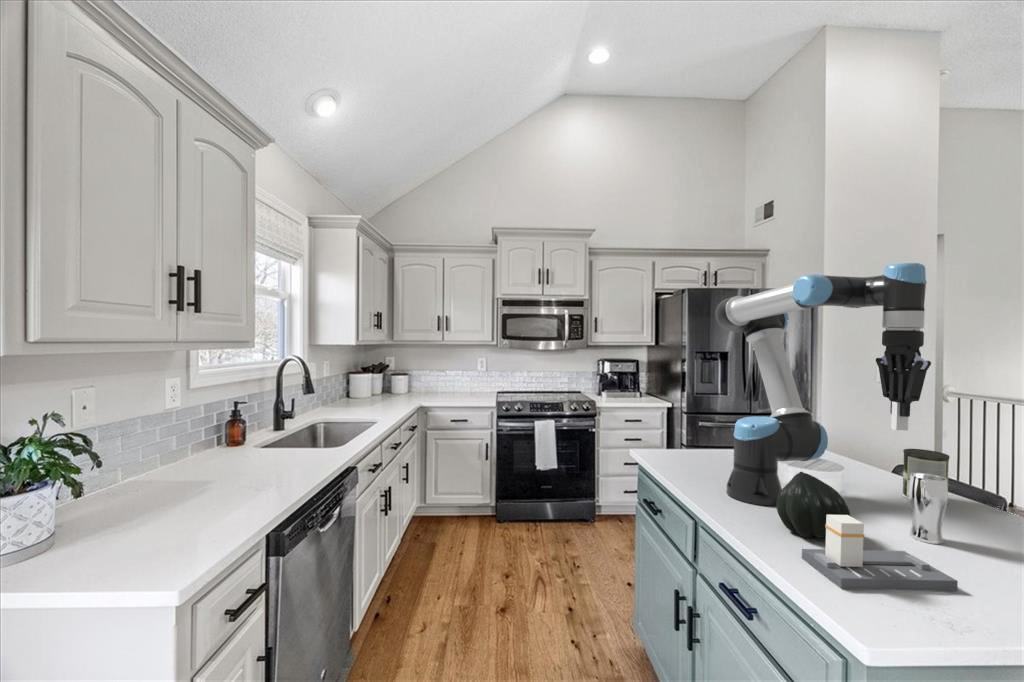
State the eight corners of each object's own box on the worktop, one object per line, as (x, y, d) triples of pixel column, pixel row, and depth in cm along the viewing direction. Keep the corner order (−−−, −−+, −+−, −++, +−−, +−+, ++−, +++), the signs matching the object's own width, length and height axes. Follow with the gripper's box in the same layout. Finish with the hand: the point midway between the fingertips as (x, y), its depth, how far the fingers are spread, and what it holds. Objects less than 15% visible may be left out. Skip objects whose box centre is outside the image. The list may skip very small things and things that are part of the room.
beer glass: (936, 535, 113) (938, 474, 113) (952, 547, 106) (955, 482, 106) (901, 530, 115) (903, 470, 115) (915, 542, 109) (917, 479, 108)
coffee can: (893, 492, 144) (894, 447, 144) (929, 494, 143) (930, 449, 143) (919, 504, 134) (920, 456, 134) (957, 506, 133) (959, 458, 133)
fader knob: (846, 555, 96) (847, 514, 96) (863, 567, 91) (864, 523, 91) (824, 555, 96) (825, 514, 96) (840, 566, 91) (841, 523, 91)
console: (903, 560, 100) (904, 546, 99) (957, 591, 88) (957, 575, 87) (801, 558, 100) (802, 544, 100) (841, 588, 88) (841, 572, 88)
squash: (865, 531, 101) (845, 467, 111) (788, 525, 105) (775, 464, 115) (845, 552, 111) (828, 492, 121) (776, 546, 115) (765, 488, 125)
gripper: (944, 329, 102) (940, 436, 102) (895, 330, 115) (892, 424, 115) (910, 329, 102) (907, 435, 102) (865, 329, 115) (862, 423, 115)
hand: (899, 429), depth 109 cm, fingers closed
